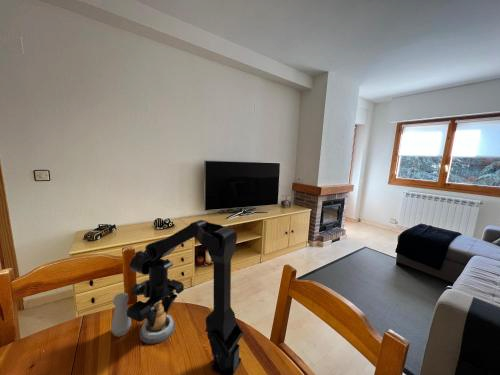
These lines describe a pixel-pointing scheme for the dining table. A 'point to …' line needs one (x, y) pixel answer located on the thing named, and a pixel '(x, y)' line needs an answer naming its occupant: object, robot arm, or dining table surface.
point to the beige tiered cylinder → (159, 317)
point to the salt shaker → (120, 315)
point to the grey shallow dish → (157, 332)
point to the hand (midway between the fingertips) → (158, 321)
